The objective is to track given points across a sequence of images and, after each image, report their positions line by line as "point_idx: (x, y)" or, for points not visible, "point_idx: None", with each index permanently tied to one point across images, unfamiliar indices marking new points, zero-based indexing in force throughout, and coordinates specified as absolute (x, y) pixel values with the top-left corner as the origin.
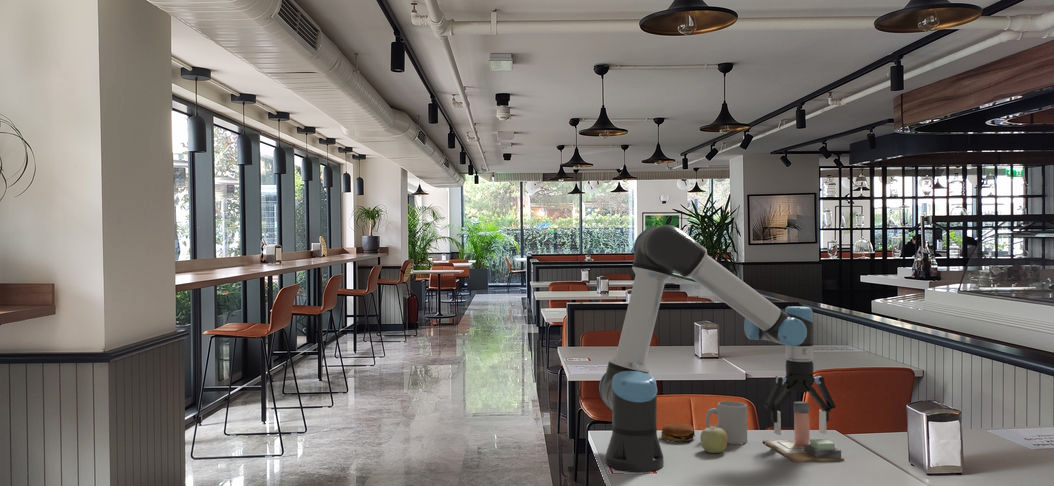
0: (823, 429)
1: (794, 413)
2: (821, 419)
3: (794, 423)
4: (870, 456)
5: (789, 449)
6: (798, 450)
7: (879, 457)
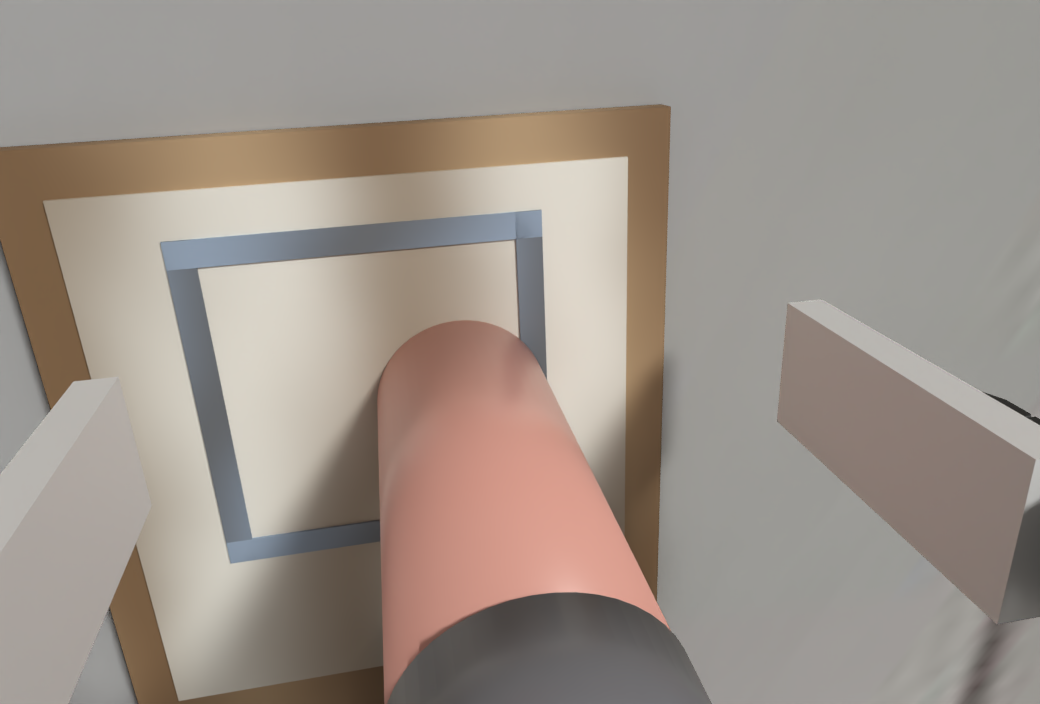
0: (809, 440)
1: (384, 701)
2: (898, 454)
3: (382, 549)
4: (926, 614)
5: (243, 581)
6: (333, 609)
7: (972, 632)
